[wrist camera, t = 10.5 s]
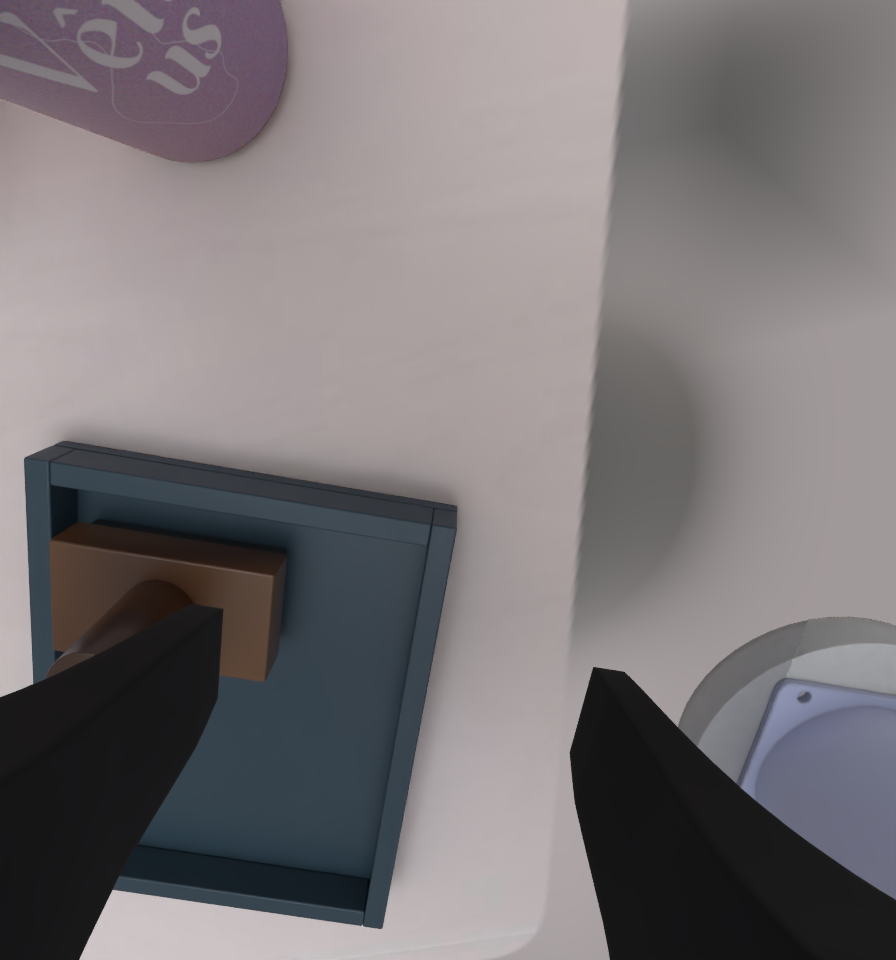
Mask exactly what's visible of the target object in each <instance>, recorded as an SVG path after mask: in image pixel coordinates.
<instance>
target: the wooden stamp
mask: <svg viewBox="0 0 896 960" xmlns="http://www.w3.org/2000/svg"><path fill="white" fill-rule="evenodd" d="M49 555H50V583H51V611H52V639H53V650H55V651H62V652H64V653H63V654H62V655H61V656H60V657H59V658H58V659H57V660H56V661H55V662H54V663H53V664H52V666H51V667H50V669H49V670H48V673H47V676H46V679H47V678H49V677H51V676H53V675H56V674H58V673H60V672H62V671H64V670H66V669H68V668H70V667H72V666H74V665H76V664H78V663H80V662H82V661H84V660H86V659H88V658H90V657H93V656H95V655H97V654H99V653H101V652H103V651H105V650H107V649H109V648H111V647H112V646H114V645H116V644H118V643H120V642H122V641H124V640H125V639H127V638H129V637H131V636H133V635H135V634H136V633H138V632H140V631H142V630H144V629H146V628H147V627H149V626H151V625H153V624H155V623H156V622H158V621H160V620H162V619H164V618H165V617H167V616H169V615H171V614H173V613H175V612H176V611H178V610H180V609H182V608H184V607H186V606H188V605H190V604H196V605H203V606H209V607H216V608H222V609H223V624H222V640H221V656H220V672H219V675H220V676H226V677H233V678H240V679H246V680H253V681H259V682H265V681H266V679H267V677H268V675H269V673H270V671H271V669H272V667H273V665H274V663H275V660H276V658H277V656H278V650H279V640H280V629H281V618H282V607H283V596H284V585H285V574H286V564H287V550H286V549H283V548H277V547H270V546H264V545H258V544H251V543H245V542H239V541H232V540H226V539H220V538H213V537H207V536H201V535H194V534H188V533H182V532H175V531H169V530H163V529H156V528H150V527H144V526H137V525H131V524H125V523H118V522H112V521H106V520H99V519H98V520H95V521H94V522H92V523H91V524H90V523H84V522H76V523H75V524H73V525H72V526H70V527H69V528H67V529H66V530H64V531H63V532H61V533H59V534H58V535H56V536H55V537H53V538H52V539H50V541H49Z"/></svg>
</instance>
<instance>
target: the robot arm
mask: <svg viewBox="0 0 896 960" xmlns="http://www.w3.org/2000/svg"><path fill="white" fill-rule="evenodd" d="M222 624H223V609H222V608H216V607H209V606H203V605H196V604H190V605H188V606H186V607H184V608H182V609H180V610H178V611H176V612H175V613H173V614H171V615H169V616H167V617H165V618H164V619H162V620H160V621H158V622H156V623H155V624H153V625H151V626H149V627H147V628H146V629H144V630H142V631H140V632H138V633H136V634H135V635H133V636H131V637H129V638H127V639H125V640H124V641H122V642H120V643H118V644H116V645H114V646H112V647H111V648H109V649H107V650H105V651H103V652H101V653H99V654H97V655H95V656H93V657H90V658H88V659H86V660H84V661H82V662H80V663H78V664H76V665H74V666H72V667H70V668H68V669H66V670H64V671H62V672H60V673H58V674H56V675H53V676H51V677H49V678H47V679H44V680H42V681H40V682H37V683H35V684H33V685H30V686H28V687H26V688H23V689H21V690H18V691H15V692H13V693H10V694H8V695H5V696H3V697H0V960H79V959H80V956H81V954H82V952H83V950H84V948H85V946H86V944H87V941H88V939H89V937H90V935H91V933H92V931H93V929H94V927H95V925H96V923H97V921H98V919H99V917H100V914H101V912H102V910H103V908H104V906H105V904H106V902H107V900H108V898H109V896H110V894H111V892H112V890H113V888H114V886H115V884H116V882H117V880H118V878H119V876H120V874H121V872H122V871H123V869H124V867H125V865H126V863H127V862H128V860H129V858H130V856H131V854H132V853H133V851H134V849H135V848H136V846H137V844H138V843H139V841H140V839H141V838H142V836H143V835H144V833H145V831H146V830H147V828H148V826H149V825H150V823H151V821H152V820H153V818H154V816H155V815H156V813H157V812H158V810H159V808H160V807H161V805H162V803H163V802H164V800H165V798H166V797H167V795H168V793H169V792H170V790H171V789H172V787H173V785H174V784H175V782H176V780H177V779H178V777H179V775H180V774H181V772H182V770H183V769H184V767H185V765H186V764H187V762H188V760H189V758H190V757H191V755H192V753H193V752H194V750H195V748H196V747H197V745H198V742H199V740H200V738H201V736H202V734H203V731H204V729H205V727H206V725H207V723H208V720H209V718H210V716H211V713H212V711H213V709H214V706H215V704H216V702H217V699H218V688H219V672H220V656H221V640H222ZM802 692H806V693H805V694H804V695H802V696H799V697H798V695H799V694H800V693H802ZM570 760H571V771H572V782H573V790H574V799H575V805H576V810H577V814H578V819H579V823H580V827H581V832H582V836H583V840H584V845H585V849H586V853H587V857H588V861H589V866H590V870H591V874H592V878H593V882H594V887H595V891H596V895H597V899H598V903H599V908H600V912H601V915H602V920H603V925H604V929H605V935H606V940H607V945H608V950H609V957H610V960H896V695H891V694H885V693H878V692H872V691H866V690H860V689H853V688H847V687H841V686H835V685H828V684H822V683H816V682H810V681H803V680H797V679H784V680H781V681H780V682H779V683H777V685H776V686H775V688H774V690H773V693H772V696H771V698H770V701H769V703H768V706H767V709H766V711H765V714H764V716H763V719H762V721H761V724H760V727H759V729H758V732H757V734H756V737H755V739H754V742H753V745H752V747H751V750H750V752H749V755H748V758H747V760H746V763H745V765H744V768H743V770H742V773H741V776H740V778H739V781H738V783H737V784H736V783H735V782H734V781H733V780H732V779H731V778H729V777H728V776H727V775H726V774H725V773H724V772H723V771H722V770H721V769H720V768H719V767H718V766H716V765H715V764H714V763H713V762H712V761H711V760H710V759H709V758H708V757H707V756H706V755H705V754H704V753H703V752H702V751H701V750H700V749H699V748H698V747H697V746H696V745H695V744H694V743H693V742H692V741H691V740H690V739H689V738H688V737H687V736H686V735H685V734H684V733H683V732H682V731H681V730H680V729H679V728H678V727H677V726H676V725H675V724H674V723H673V722H672V721H671V720H670V719H669V718H668V717H667V715H666V714H664V712H663V711H662V710H661V709H660V708H659V707H658V706H657V705H656V704H655V703H654V702H653V701H652V700H651V699H650V698H649V696H648V695H647V694H646V693H645V692H644V691H643V690H642V689H641V688H640V687H639V686H638V685H637V684H636V683H635V682H634V681H633V680H632V679H631V678H630V677H629V676H628V675H627V674H626V673H625V672H622V671H616V670H609V669H603V668H596V667H593V670H592V674H591V677H590V681H589V685H588V688H587V692H586V696H585V699H584V703H583V706H582V710H581V714H580V717H579V721H578V725H577V728H576V732H575V736H574V739H573V743H572V746H571V750H570Z"/></svg>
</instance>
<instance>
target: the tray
mask: <svg viewBox="0 0 896 960" xmlns="http://www.w3.org/2000/svg"><path fill="white" fill-rule="evenodd" d="M24 469H25V493H26V516H27V540H28V564H29V588H30V612H31V636H32V660H33V684H35V683H37V682H40V681H42V680H44V679H46V676H47V673H48V670H49V669H50V667H51V666H52V664H53V663H54V662H55V661H56V660H57V659H58V658H59V657H60V656H61V655H62V654H63V653H64V652H62V651H55V650H53V639H52V611H51V583H50V555H49V541H50V539H52V538H53V537H55V536H56V535H58V534H59V533H61V532H63V531H64V530H66V529H67V528H69V527H70V526H72V525H73V524H75V523H76V522H84V523H90V524H91V523H92V522H94V521H95V520H98V519H99V520H106V521H112V522H118V523H125V524H131V525H137V526H144V527H150V528H156V529H163V530H169V531H175V532H182V533H188V534H194V535H201V536H207V537H213V538H220V539H226V540H232V541H239V542H245V543H251V544H258V545H264V546H270V547H277V548H283V549H286V550H287V564H286V574H285V585H284V596H283V607H282V618H281V629H280V640H279V650H278V656H277V658H276V660H275V663H274V665H273V667H272V669H271V671H270V673H269V675H268V677H267V679H266V681H265V682H259V681H253V680H246V679H240V678H233V677H226V676H220V675H219V688H218V699H217V702H216V704H215V706H214V709H213V711H212V713H211V716H210V718H209V720H208V723H207V725H206V727H205V729H204V731H203V734H202V736H201V738H200V740H199V742H198V745H197V747H196V748H195V750H194V752H193V753H192V755H191V757H190V758H189V760H188V762H187V764H186V765H185V767H184V769H183V770H182V772H181V774H180V775H179V777H178V779H177V780H176V782H175V784H174V785H173V787H172V789H171V790H170V792H169V793H168V795H167V797H166V798H165V800H164V802H163V803H162V805H161V807H160V808H159V810H158V812H157V813H156V815H155V816H154V818H153V820H152V821H151V823H150V825H149V826H148V828H147V830H146V831H145V833H144V835H143V836H142V838H141V839H140V841H139V843H138V844H137V846H136V848H135V849H134V851H133V853H132V854H131V856H130V858H129V860H128V862H127V863H126V865H125V867H124V869H123V871H122V872H121V874H120V876H119V878H118V880H117V882H116V884H115V886H114V888H113V890H118V891H125V892H132V893H139V894H146V895H153V896H160V897H167V898H173V899H180V900H187V901H194V902H201V903H208V904H215V905H222V906H228V907H235V908H242V909H249V910H256V911H263V912H270V913H277V914H284V915H290V916H297V917H304V918H311V919H318V920H325V921H332V922H339V923H345V924H352V925H359V926H361V925H362V924H363V926H364V927H371V928H378V929H382V928H383V923H384V917H385V912H386V907H387V901H388V896H389V891H390V885H391V880H392V875H393V869H394V864H395V858H396V853H397V848H398V842H399V837H400V832H401V826H402V821H403V815H404V810H405V805H406V799H407V794H408V789H409V783H410V778H411V773H412V767H413V762H414V756H415V751H416V746H417V740H418V735H419V730H420V724H421V719H422V713H423V708H424V703H425V697H426V692H427V687H428V681H429V676H430V671H431V665H432V660H433V654H434V649H435V644H436V638H437V633H438V628H439V622H440V617H441V611H442V606H443V601H444V595H445V590H446V585H447V579H448V574H449V569H450V563H451V558H452V552H453V547H454V542H455V536H456V531H457V506H454V505H448V504H442V503H436V502H429V501H423V500H417V499H411V498H405V497H399V496H393V495H387V494H381V493H375V492H369V491H363V490H357V489H351V488H345V487H339V486H333V485H327V484H321V483H315V482H309V481H303V480H297V479H291V478H285V477H279V476H273V475H267V474H261V473H255V472H249V471H242V470H236V469H230V468H224V467H218V466H212V465H206V464H200V463H194V462H188V461H182V460H176V459H170V458H164V457H158V456H152V455H146V454H140V453H134V452H128V451H122V450H116V449H110V448H104V447H98V446H92V445H86V444H80V443H74V442H68V441H62V442H60V443H57V444H55V445H54V446H51V447H48V448H46V449H44V450H41V451H39V452H37V453H34V454H32V455H29V456H27V457H25V458H24Z"/></svg>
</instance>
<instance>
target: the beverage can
mask: <svg viewBox="0 0 896 960" xmlns="http://www.w3.org/2000/svg"><path fill="white" fill-rule="evenodd" d="M287 58H288V42H287V31H286V24H285V19H284V15H283V11H282V7H281V4H280V1H279V0H0V98H2V99H4V100H7V101H10V102H12V103H15V104H18V105H20V106H23V107H26V108H29V109H31V110H34V111H37V112H39V113H42V114H45V115H47V116H50V117H53V118H56V119H58V120H61V121H64V122H66V123H69V124H72V125H75V126H77V127H80V128H83V129H85V130H88V131H91V132H93V133H96V134H99V135H102V136H104V137H107V138H110V139H112V140H115V141H118V142H120V143H123V144H126V145H129V146H131V147H134V148H137V149H139V150H142V151H145V152H148V153H150V154H153V155H156V156H159V157H162V158H165V159H169V160H173V161H180V162H203V161H209V160H214V159H217V158H221V157H223V156H226V155H228V154H230V153H232V152H234V151H236V150H238V149H239V148H241V147H242V146H244V145H245V144H246V143H248V142H249V141H250V140H251V139H252V138H253V137H254V136H255V135H256V134H257V133H258V132H259V131H260V130H261V129H262V127H263V126H264V125H265V124H266V122H267V121H268V119H269V118H270V116H271V114H272V112H273V111H274V109H275V107H276V104H277V102H278V100H279V97H280V94H281V92H282V88H283V84H284V80H285V75H286V69H287Z"/></svg>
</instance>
